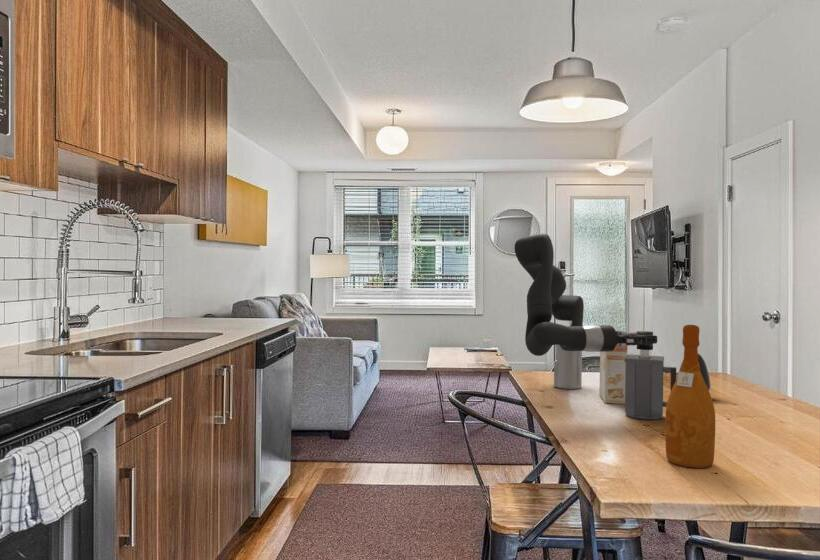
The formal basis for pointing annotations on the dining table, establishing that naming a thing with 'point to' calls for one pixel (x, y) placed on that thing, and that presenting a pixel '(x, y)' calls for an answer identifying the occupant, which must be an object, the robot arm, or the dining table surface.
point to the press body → (645, 386)
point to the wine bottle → (690, 411)
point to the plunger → (644, 348)
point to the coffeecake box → (613, 375)
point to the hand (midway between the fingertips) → (648, 337)
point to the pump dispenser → (702, 371)
